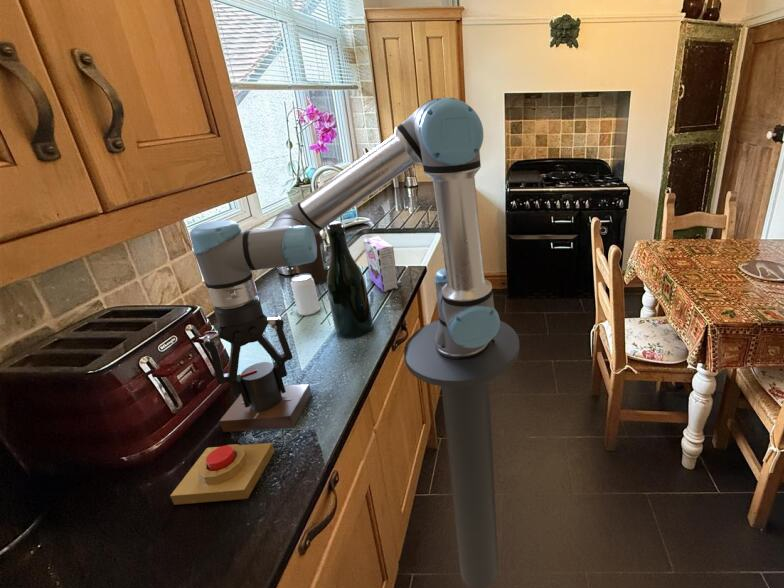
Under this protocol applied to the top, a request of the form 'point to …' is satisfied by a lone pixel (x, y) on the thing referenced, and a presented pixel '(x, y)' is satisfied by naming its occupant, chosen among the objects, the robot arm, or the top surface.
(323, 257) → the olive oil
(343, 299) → the dark green wine bottle
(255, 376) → the dimmer knob
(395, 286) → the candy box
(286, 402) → the panel
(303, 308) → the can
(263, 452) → the switch block
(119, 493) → the top surface
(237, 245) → the robot arm
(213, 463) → the light button
